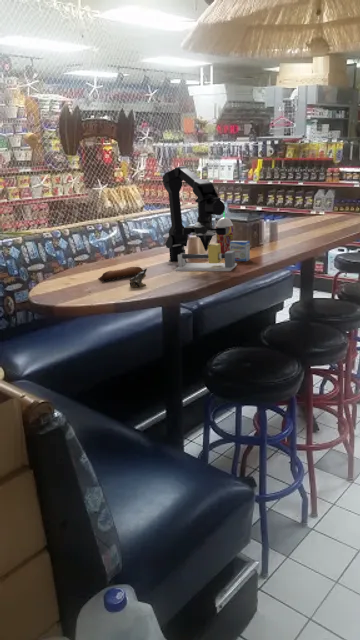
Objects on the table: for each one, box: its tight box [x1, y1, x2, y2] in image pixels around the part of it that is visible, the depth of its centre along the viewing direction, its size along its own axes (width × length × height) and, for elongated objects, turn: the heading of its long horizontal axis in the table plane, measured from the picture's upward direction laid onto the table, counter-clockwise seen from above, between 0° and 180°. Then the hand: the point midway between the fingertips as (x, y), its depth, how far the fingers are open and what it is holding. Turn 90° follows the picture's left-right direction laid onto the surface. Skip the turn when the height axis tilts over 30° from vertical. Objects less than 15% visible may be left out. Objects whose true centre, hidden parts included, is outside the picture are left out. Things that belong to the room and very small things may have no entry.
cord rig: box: [174, 251, 238, 272], centre depth 220 cm, size 24×12×7 cm, turn 70°
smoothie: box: [215, 210, 234, 254], centre depth 246 cm, size 8×8×20 cm
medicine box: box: [230, 240, 251, 262], centre depth 230 cm, size 8×4×9 cm, turn 62°
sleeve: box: [207, 242, 222, 263], centre depth 218 cm, size 4×5×8 cm
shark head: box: [129, 268, 148, 288], centre depth 196 cm, size 8×6×7 cm
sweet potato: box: [97, 266, 144, 283], centre depth 214 cm, size 18×7×7 cm, turn 117°
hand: (206, 250), depth 218 cm, fingers closed
